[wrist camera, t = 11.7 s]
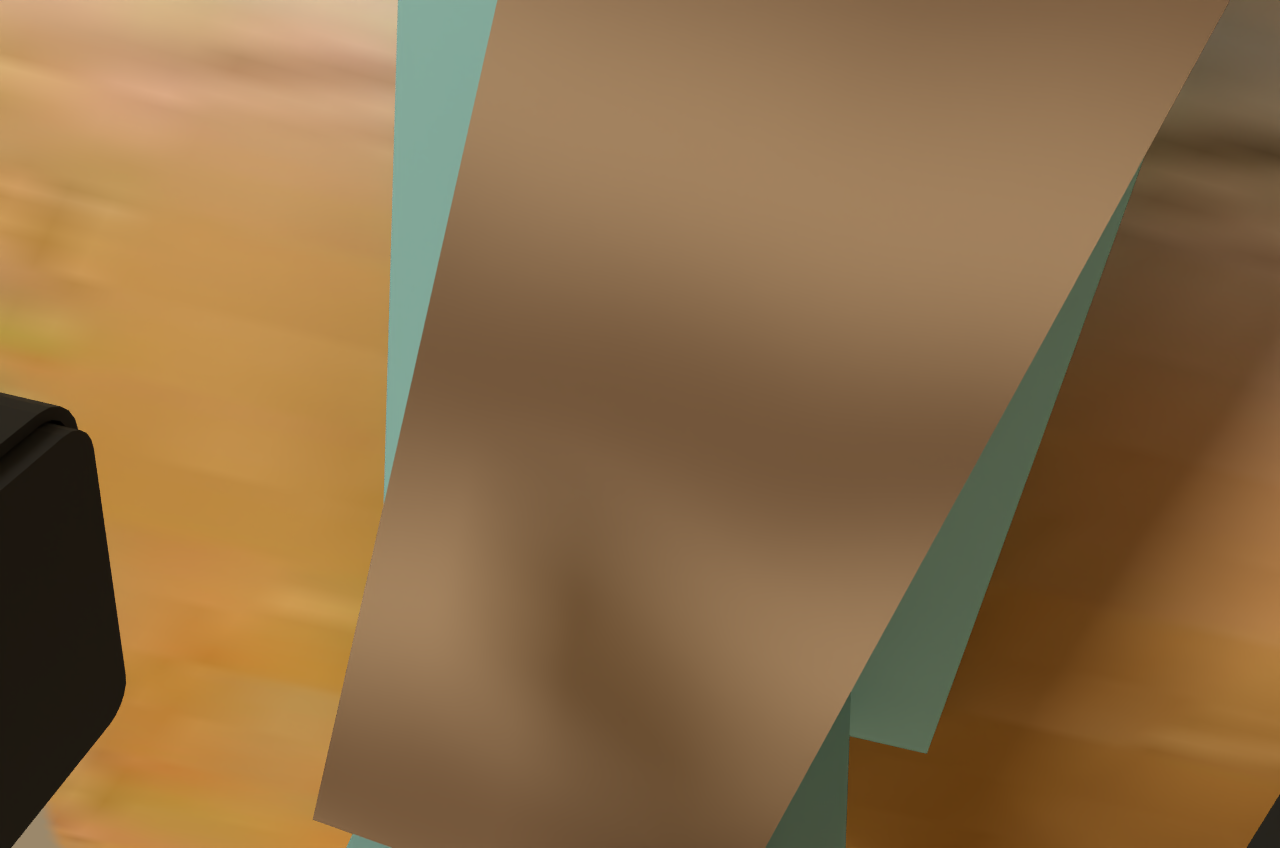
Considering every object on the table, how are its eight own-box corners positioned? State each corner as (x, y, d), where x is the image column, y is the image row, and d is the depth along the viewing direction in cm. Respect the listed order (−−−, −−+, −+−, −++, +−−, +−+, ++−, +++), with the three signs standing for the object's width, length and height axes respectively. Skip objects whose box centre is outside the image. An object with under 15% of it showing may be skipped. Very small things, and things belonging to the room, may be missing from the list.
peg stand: (444, -694, 16) (102, -1025, 9) (1385, -571, 15) (1819, -834, 8) (396, 600, 27) (230, 894, 20) (925, 720, 26) (939, 1070, 19)
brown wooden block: (740, 716, 22) (704, 958, 17) (426, 604, 22) (313, 820, 17) (1216, -266, 13) (1376, -267, 9) (704, -448, 13) (617, -535, 9)
